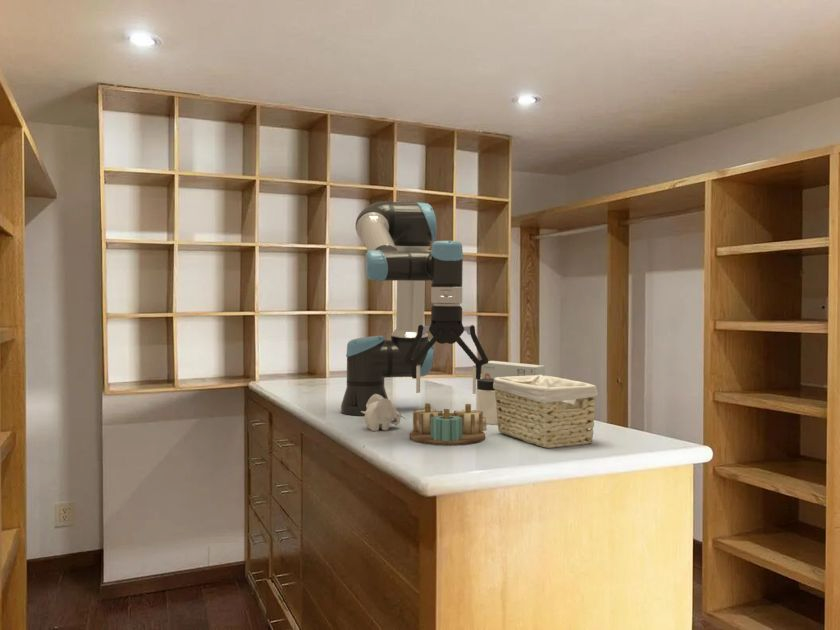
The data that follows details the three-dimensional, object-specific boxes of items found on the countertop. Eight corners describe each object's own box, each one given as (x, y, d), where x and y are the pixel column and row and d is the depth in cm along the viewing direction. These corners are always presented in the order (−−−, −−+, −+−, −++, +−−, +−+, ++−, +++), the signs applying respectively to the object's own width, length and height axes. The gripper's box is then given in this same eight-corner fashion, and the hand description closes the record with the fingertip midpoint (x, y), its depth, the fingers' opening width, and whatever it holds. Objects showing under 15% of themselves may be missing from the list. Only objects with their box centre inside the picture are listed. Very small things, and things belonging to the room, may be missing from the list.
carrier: (401, 432, 180) (401, 402, 180) (470, 429, 186) (470, 399, 185) (421, 447, 162) (421, 413, 162) (497, 442, 167) (497, 409, 167)
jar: (488, 425, 191) (488, 382, 191) (470, 421, 198) (470, 379, 197) (512, 422, 196) (512, 380, 196) (494, 418, 203) (494, 377, 202)
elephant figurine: (409, 430, 183) (409, 397, 183) (364, 433, 180) (364, 399, 180) (399, 424, 193) (399, 392, 192) (356, 427, 189) (356, 394, 189)
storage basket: (600, 445, 165) (600, 383, 165) (544, 451, 158) (544, 386, 158) (542, 428, 187) (542, 374, 187) (490, 433, 180) (490, 376, 180)
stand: (462, 427, 188) (462, 416, 188) (481, 426, 189) (481, 415, 189) (469, 431, 182) (469, 419, 182) (489, 430, 184) (489, 418, 184)
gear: (431, 435, 172) (431, 414, 172) (462, 435, 171) (462, 415, 171) (429, 441, 164) (429, 420, 164) (461, 441, 164) (461, 420, 164)
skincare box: (480, 413, 213) (480, 361, 213) (492, 411, 217) (492, 360, 216) (535, 421, 197) (535, 366, 197) (546, 419, 201) (546, 364, 201)
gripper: (393, 305, 164) (393, 394, 165) (499, 305, 162) (498, 395, 163) (397, 304, 172) (396, 389, 173) (498, 305, 170) (497, 391, 171)
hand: (446, 392), depth 168 cm, fingers open, 13 cm apart
